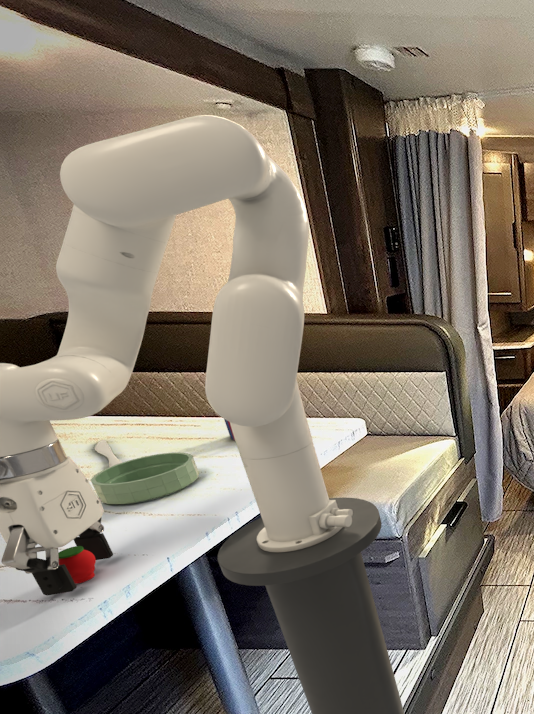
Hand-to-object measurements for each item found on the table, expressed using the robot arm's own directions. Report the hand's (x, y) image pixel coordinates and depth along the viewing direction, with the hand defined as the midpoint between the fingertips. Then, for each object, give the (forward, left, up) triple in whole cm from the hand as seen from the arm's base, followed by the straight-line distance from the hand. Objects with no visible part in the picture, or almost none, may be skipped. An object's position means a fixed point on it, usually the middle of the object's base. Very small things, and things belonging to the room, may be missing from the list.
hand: (80, 573), depth 71 cm
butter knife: (+42, -42, -1) cm, 60 cm away
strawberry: (0, 0, -1) cm, 1 cm away
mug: (+18, -53, -1) cm, 56 cm away
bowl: (+16, -27, -1) cm, 32 cm away
